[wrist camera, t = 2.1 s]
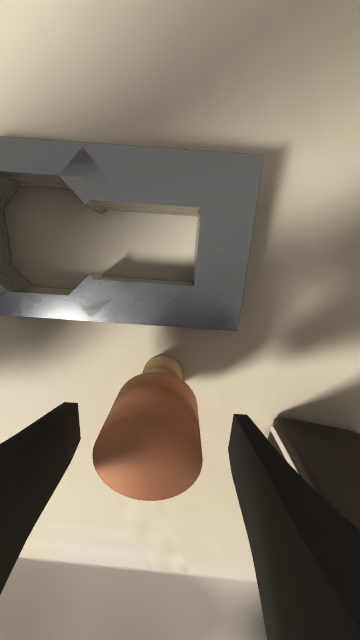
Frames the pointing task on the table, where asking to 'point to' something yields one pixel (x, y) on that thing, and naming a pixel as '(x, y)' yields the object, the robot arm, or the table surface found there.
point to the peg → (151, 435)
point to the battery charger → (323, 461)
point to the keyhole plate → (140, 196)
